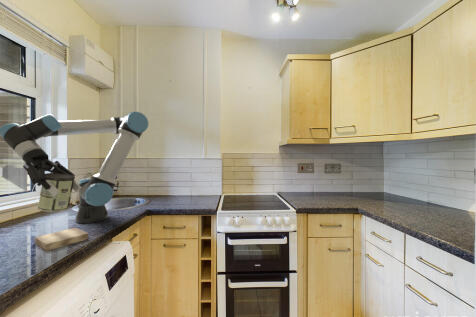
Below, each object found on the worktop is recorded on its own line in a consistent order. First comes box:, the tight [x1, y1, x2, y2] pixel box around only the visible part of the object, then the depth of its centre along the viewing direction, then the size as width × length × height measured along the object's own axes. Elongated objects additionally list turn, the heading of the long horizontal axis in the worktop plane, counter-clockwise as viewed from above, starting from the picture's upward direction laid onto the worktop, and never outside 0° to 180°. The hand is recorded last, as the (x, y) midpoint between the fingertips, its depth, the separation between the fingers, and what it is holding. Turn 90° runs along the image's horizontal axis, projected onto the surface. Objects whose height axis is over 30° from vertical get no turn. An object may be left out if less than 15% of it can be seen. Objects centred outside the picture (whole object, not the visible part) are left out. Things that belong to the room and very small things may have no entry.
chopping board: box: [34, 227, 89, 252], centre depth 90 cm, size 14×13×2 cm
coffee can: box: [37, 172, 76, 213], centre depth 90 cm, size 10×10×14 cm
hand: (68, 191), depth 90 cm, fingers closed on coffee can, 10 cm apart
